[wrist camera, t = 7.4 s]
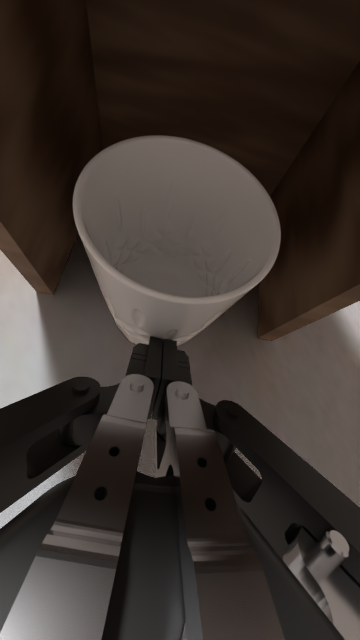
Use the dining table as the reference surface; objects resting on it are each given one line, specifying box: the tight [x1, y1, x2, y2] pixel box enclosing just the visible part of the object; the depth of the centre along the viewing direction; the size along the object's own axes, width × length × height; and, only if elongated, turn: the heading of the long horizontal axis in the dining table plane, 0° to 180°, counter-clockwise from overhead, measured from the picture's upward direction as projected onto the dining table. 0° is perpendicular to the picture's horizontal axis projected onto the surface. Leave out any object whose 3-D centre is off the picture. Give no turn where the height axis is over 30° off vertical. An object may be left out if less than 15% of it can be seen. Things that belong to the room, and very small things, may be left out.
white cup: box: [73, 135, 281, 346], centre depth 13 cm, size 8×8×10 cm
